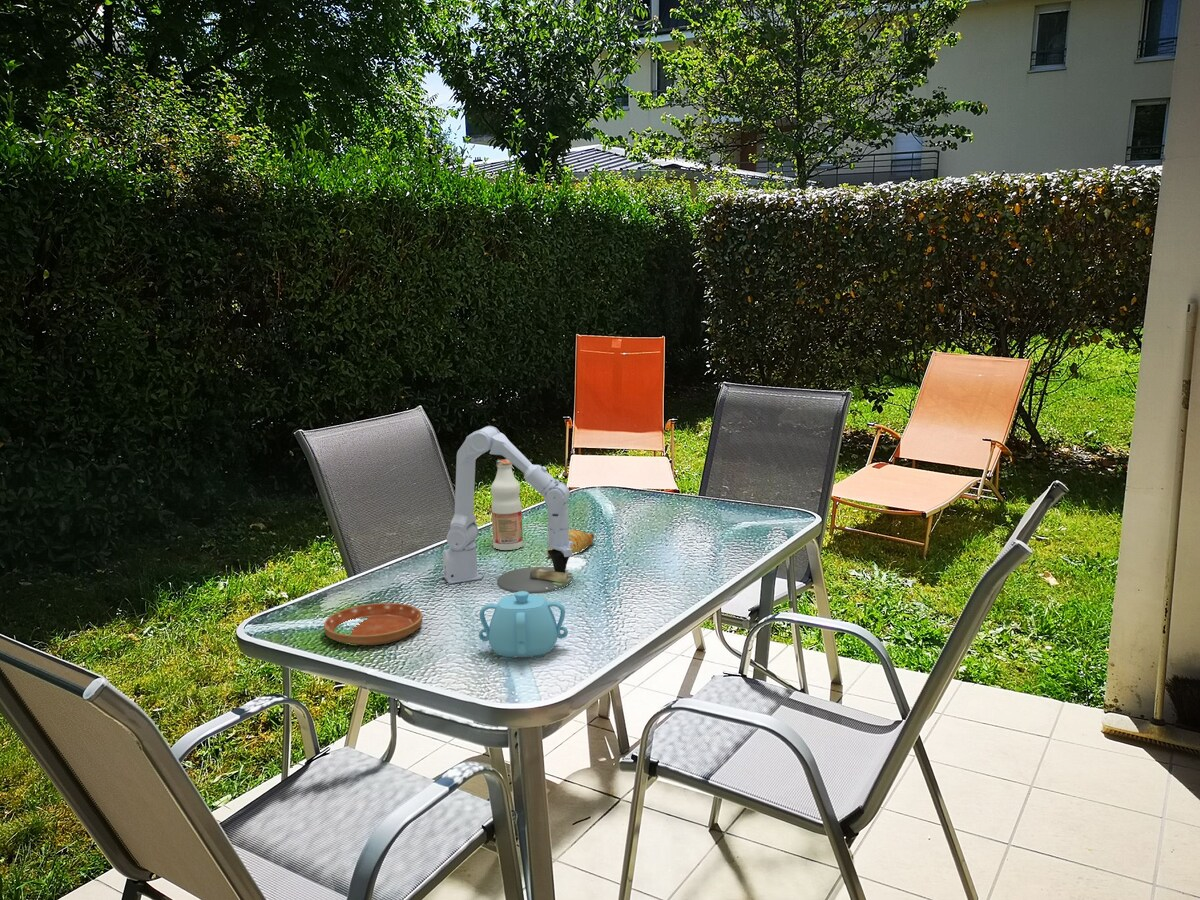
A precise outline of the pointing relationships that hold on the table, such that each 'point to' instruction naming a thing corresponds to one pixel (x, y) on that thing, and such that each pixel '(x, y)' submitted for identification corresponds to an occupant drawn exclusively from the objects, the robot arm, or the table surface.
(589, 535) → the croissant
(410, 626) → the saucer
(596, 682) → the table surface
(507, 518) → the fruit juice
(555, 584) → the dial
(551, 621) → the decorative pot
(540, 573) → the pointer
